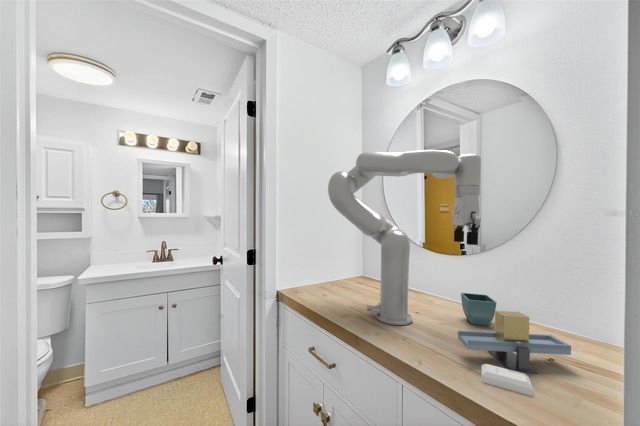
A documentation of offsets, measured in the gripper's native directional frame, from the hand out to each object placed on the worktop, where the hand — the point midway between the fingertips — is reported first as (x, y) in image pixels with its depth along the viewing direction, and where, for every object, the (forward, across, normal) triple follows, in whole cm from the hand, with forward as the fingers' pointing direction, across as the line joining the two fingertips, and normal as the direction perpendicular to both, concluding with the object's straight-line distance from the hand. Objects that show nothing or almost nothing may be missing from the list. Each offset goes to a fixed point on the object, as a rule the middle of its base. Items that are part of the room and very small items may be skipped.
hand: (465, 243), depth 91 cm
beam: (+24, +21, +3) cm, 32 cm away
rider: (+23, +21, +3) cm, 31 cm away
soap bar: (+29, +31, -4) cm, 42 cm away
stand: (+28, +21, +3) cm, 35 cm away
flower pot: (+28, -5, +7) cm, 30 cm away
